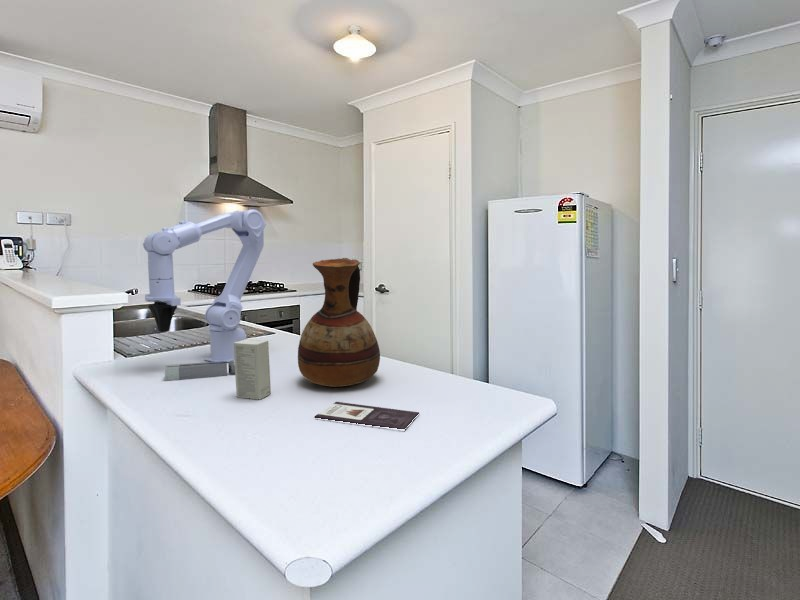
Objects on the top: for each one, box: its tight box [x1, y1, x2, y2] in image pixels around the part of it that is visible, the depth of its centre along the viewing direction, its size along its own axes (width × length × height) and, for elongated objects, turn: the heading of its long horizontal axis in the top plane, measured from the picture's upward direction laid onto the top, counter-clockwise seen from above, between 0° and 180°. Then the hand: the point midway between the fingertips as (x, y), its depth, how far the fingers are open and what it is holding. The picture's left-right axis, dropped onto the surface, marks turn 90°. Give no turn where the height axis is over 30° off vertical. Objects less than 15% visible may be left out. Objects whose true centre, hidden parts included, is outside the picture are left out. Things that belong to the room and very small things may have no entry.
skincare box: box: [233, 338, 272, 400], centre depth 101 cm, size 6×4×12 cm
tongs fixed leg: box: [165, 360, 235, 376], centre depth 117 cm, size 18×3×3 cm, turn 110°
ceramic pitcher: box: [297, 257, 381, 388], centre depth 112 cm, size 20×20×30 cm
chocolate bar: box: [313, 401, 420, 429], centre depth 90 cm, size 9×1×18 cm
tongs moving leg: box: [164, 362, 228, 382], centre depth 116 cm, size 14×2×3 cm, turn 111°
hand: (164, 331), depth 121 cm, fingers closed
